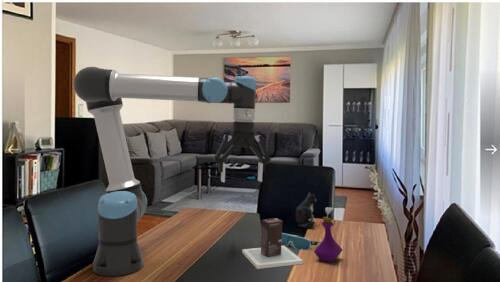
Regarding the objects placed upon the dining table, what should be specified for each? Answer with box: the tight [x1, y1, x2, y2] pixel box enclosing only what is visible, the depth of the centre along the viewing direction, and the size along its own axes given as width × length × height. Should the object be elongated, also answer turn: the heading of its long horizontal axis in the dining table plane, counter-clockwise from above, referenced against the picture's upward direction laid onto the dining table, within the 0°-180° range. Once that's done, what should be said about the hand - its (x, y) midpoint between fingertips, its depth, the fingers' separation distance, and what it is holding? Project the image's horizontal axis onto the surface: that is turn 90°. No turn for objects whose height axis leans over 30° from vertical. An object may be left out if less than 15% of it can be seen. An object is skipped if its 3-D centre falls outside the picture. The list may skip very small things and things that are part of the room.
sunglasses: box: [281, 232, 323, 250], centre depth 161 cm, size 14×15×5 cm
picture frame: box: [241, 245, 304, 270], centre depth 144 cm, size 16×16×1 cm
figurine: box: [294, 191, 317, 230], centre depth 182 cm, size 10×10×15 cm
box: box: [260, 217, 284, 257], centre depth 143 cm, size 6×4×12 cm
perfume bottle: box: [313, 206, 343, 264], centre depth 142 cm, size 8×8×18 cm
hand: (241, 181), depth 148 cm, fingers open, 13 cm apart
